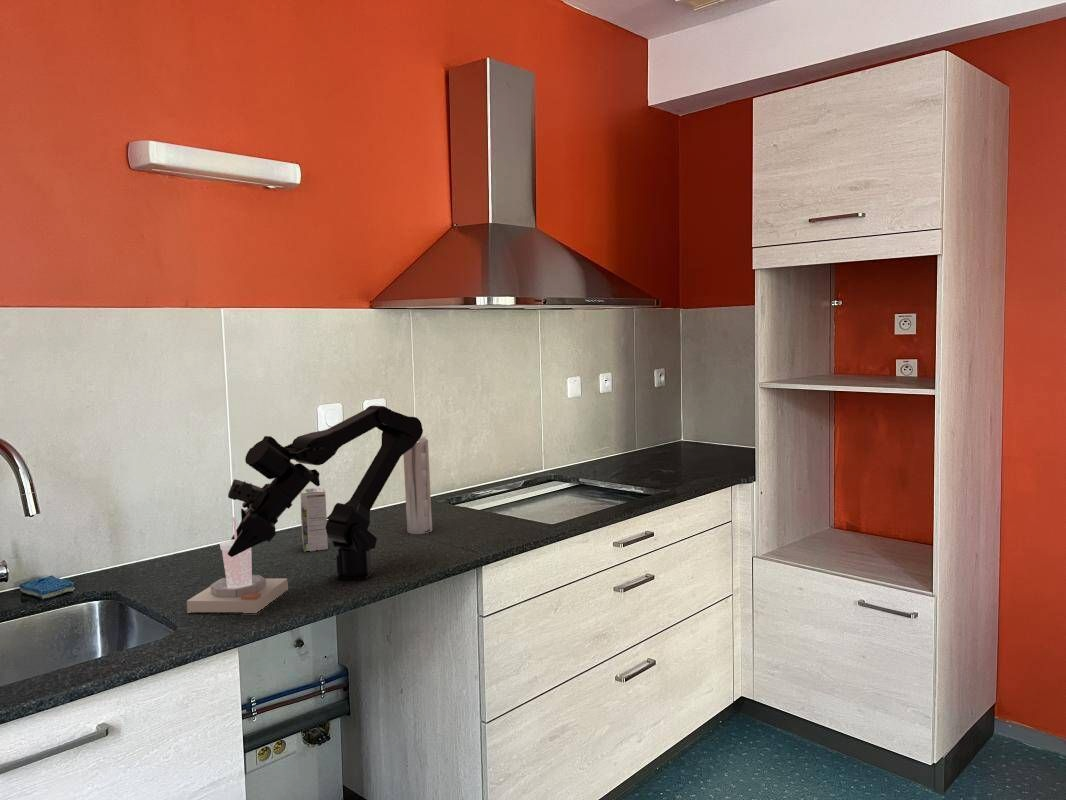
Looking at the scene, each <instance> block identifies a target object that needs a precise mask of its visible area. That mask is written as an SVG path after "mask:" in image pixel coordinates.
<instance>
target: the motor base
mask: <svg viewBox="0 0 1066 800" xmlns="http://www.w3.org/2000/svg"><path fill="white" fill-rule="evenodd" d="M288 585H289V584H288V578H270V577H268V578H265V577H263V576H261V575H260V574H252V585H250V586H245V587H241V588H227V581H226V577H223V578H218V580H217V581H215V582H213V583H211V584H210V586H208V587H207V588H205V589H204V590H202V591H200V592H199V593H197V594H196V595H194V596H192V597H191V598H189V599H188V600H186V609H187V612H186V613H187V614H188V613H191V612H193V613H194V612H243V613H257V612H258V611H260V610H261V609H263V608H264V607H265V606H267V605H268V604H269V603H270V602H272V601H273V600H275V599H276V598H278V597H279V596H280V595H281V596H283V595H284V594H285V593H286V592H285V591H287V590H288V591H289V586H288ZM288 591H287V592H288ZM284 592H285V593H284ZM283 593H284V594H283ZM282 594H283V595H282ZM281 596H280V597H281ZM280 597H279V598H280ZM279 598H278V599H279ZM276 600H277V599H276ZM276 600H275V601H276ZM272 603H273V602H272ZM268 606H269V605H268ZM268 606H267V607H268ZM263 610H264V609H263Z"/></svg>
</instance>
